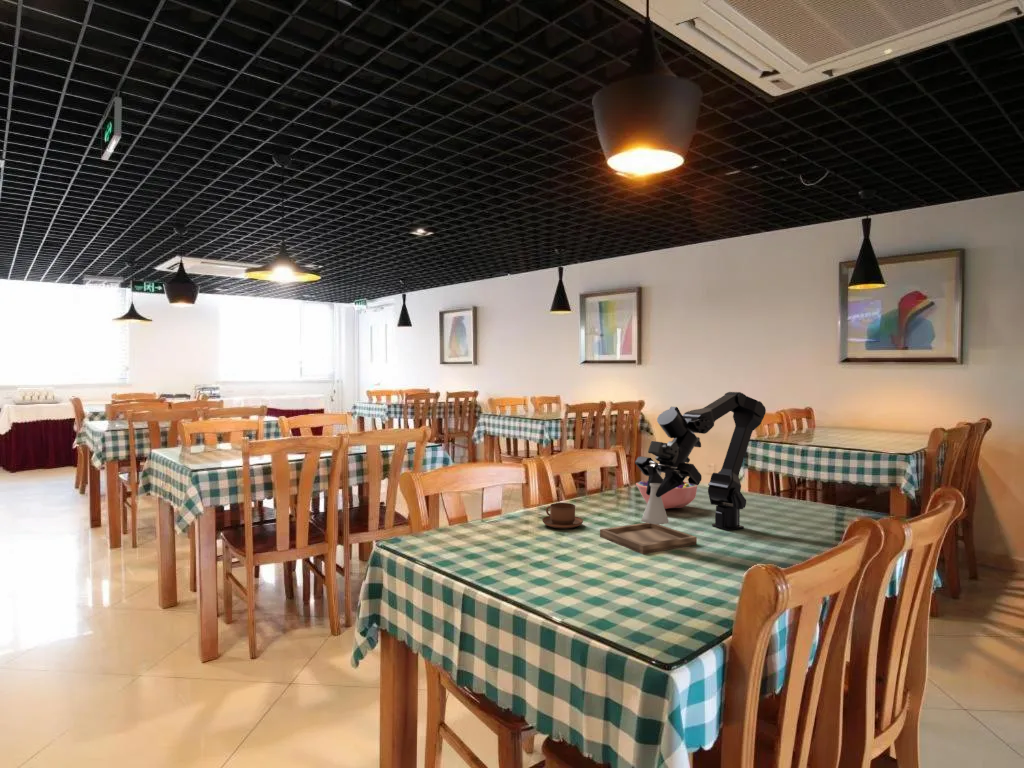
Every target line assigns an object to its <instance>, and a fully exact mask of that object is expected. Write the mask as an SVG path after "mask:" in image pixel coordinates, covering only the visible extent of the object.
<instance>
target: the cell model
mask: <svg viewBox="0 0 1024 768" xmlns="http://www.w3.org/2000/svg"><path fill="white" fill-rule="evenodd" d="M683 482H684V485H680V486H678V487H676V488H674V489H672V490H670V491H668V492H667V493H665V494H663V495H662V496H661V498H662V502H663V505H664V508H665V510H668V509H680V508H681V509H682V508H684V507H686V506H688V505H689V504H691V503H692V502H693V501H694V500H695V499H696V496H697V492H698V491H697V490H698V485H693V484H690V483H689V482H688V481H687V482H686V481H685V480H684V481H683ZM635 485H636V487H637V489H638V491H639V492H640V494H641V496H642V498H643V499H644V502H645V504H646V505H647V504H648V501H649V498H650V495H647V494H646V491H647V485H648V480H641V481H638V482H636V483H635Z"/></svg>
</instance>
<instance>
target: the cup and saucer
mask: <svg viewBox="0 0 1024 768" xmlns="http://www.w3.org/2000/svg"><path fill="white" fill-rule="evenodd" d="M549 509H550V510H549ZM545 512H546V515H547V516H545V517H543V518H542V523H543V524H544V525H545V526H547V527H549V528H554V529H560V530H562V529H565V530H567V529H573V528H574V529H575V528H577V527H579V526H581V525H582V524H583V523H584V520H583V518H581V517H579V516H576V505H575V504H573V503H568V502H554V503H551V504H550V505H549V506H547V507H546V509H545Z"/></svg>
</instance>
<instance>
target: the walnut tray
mask: <svg viewBox="0 0 1024 768" xmlns="http://www.w3.org/2000/svg"><path fill="white" fill-rule="evenodd" d="M599 537H600V538H602V539H604V540H606V541H610V542H612V543H615V544H617V545H620V546H623V547H625V548H627V549H629V550H631V551H634V552H637V553H639V554H642V555H644V554H651V553H655V552H662V551H668V550H674V549H678V548H684V547H685V548H686V547H690V546H691V547H692V546H696V545H697V540H698V538H697V536H695V535H692V534H688V533H686V532H683V531H680V530H677V529H674V528H670V527H667V526H664V525H663V524H650V523H646V522H643V523H642V522H641V523H635V524H627V525H621V526H613V527H608V528H601V529H599Z"/></svg>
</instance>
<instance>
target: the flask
mask: <svg viewBox="0 0 1024 768" xmlns="http://www.w3.org/2000/svg"><path fill="white" fill-rule="evenodd" d="M660 485H661V484H659V483H650V486H651V493H650V498H649V501H648V504H647V503H646V507H645V508H644V512H643V513H642V514H643V515H642V517H641V523H642V522H643V523H650V524H659V525H664V524H665V525H666V524H669V519H668V518H669V517H668V515H667V512H666V509H665V508H664V505H663V502H662V498H661V496H660V497H657V496H656V492H657V490H658V488H659V486H660Z"/></svg>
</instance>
